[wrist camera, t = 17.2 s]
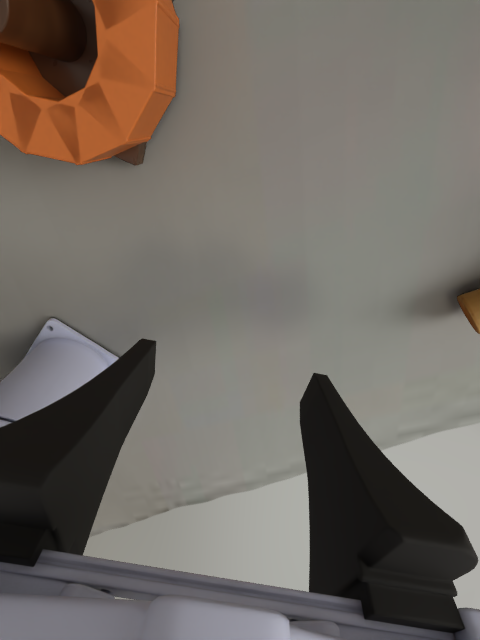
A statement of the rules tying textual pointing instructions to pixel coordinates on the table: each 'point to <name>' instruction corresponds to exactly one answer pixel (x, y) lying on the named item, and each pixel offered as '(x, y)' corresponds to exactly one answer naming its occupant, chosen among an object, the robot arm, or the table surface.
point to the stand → (58, 44)
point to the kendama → (471, 307)
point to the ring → (96, 87)
